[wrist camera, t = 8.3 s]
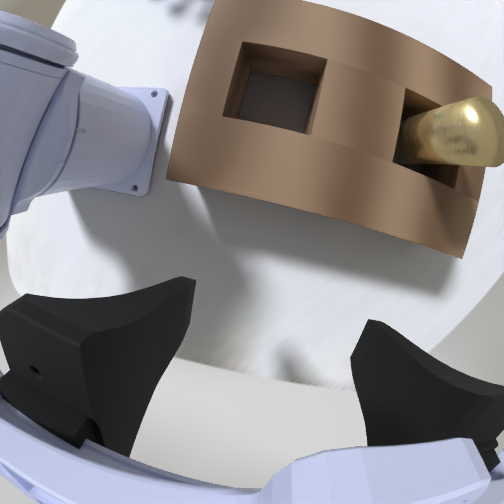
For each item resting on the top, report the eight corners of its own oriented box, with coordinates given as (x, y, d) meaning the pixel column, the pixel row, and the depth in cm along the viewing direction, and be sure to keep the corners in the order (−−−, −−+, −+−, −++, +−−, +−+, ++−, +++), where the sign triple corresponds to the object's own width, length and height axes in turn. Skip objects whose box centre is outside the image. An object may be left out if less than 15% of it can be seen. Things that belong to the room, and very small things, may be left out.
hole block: (192, 176, 19) (165, 179, 14) (231, 25, 15) (219, -10, 11) (426, 239, 19) (462, 258, 14) (455, 98, 15) (492, 86, 10)
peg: (376, 156, 17) (460, 150, 8) (383, 117, 16) (466, 84, 7) (411, 169, 17) (506, 177, 8) (418, 131, 16) (511, 115, 7)
